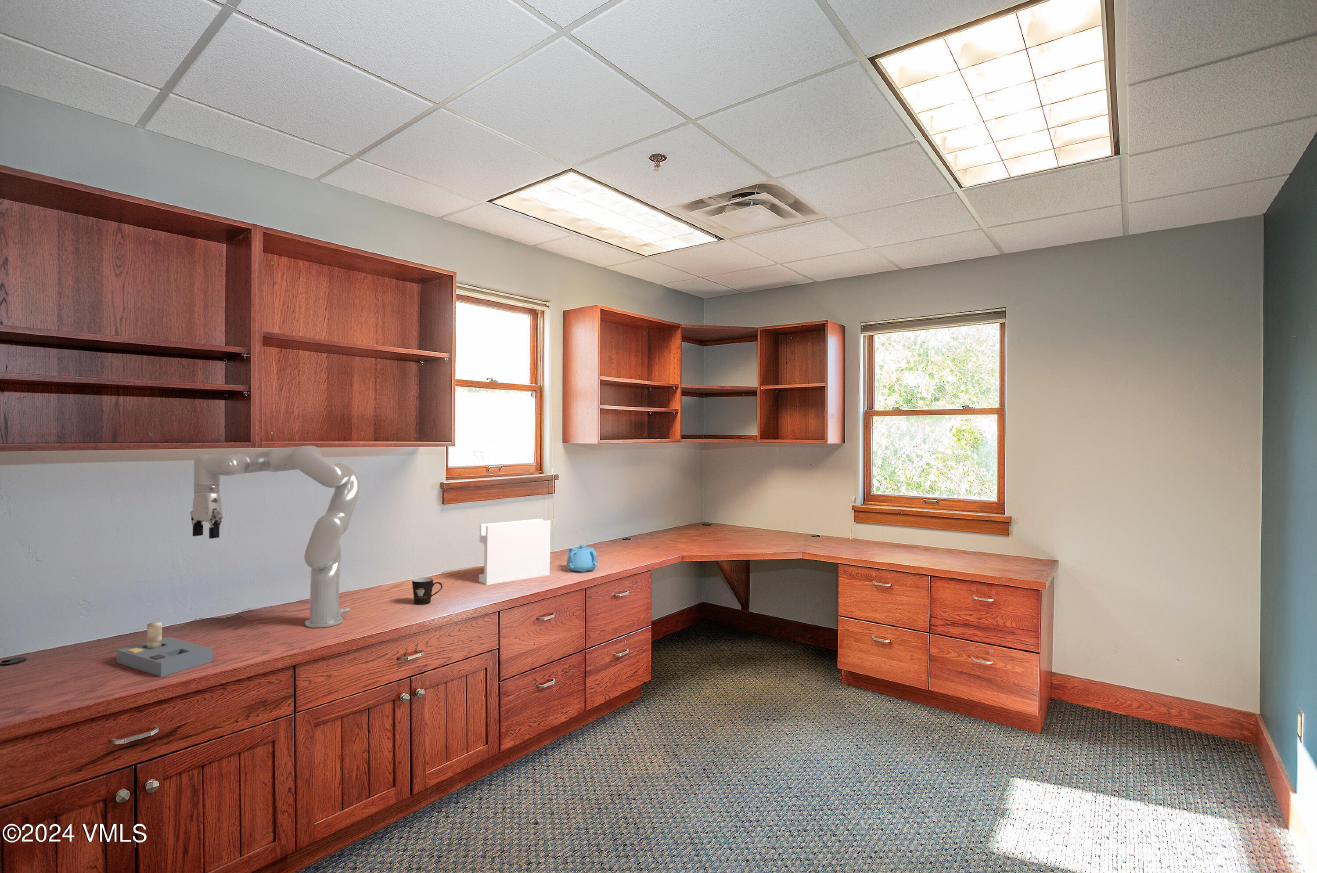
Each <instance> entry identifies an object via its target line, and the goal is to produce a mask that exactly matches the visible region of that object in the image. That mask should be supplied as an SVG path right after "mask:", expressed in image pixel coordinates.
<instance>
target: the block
mask: <svg viewBox="0 0 1317 873" xmlns="http://www.w3.org/2000/svg"><path fill="white" fill-rule="evenodd" d="M551 523H552V521H551V520H550V519H549V520H547V519H546V520H544V518H534V519H533V518H532V519H523V520H522V519H521V520H514V521H499V522H487V523H480V524H479V543H480V544H482V545H483V546H484V553H483V554H484V555H483V556H484V557H483V558H484V559H483V564H484V565H483V567H484V568H483V573H481V574H478V582H479V583H481V584H483V585H485V586H489V585H494V584H500V583H501V584H502V583H507V582H513V581H514V582H515V581H521V580H526V579H533V578H539V577H546V576H550V575H551V532H552V531H551V530H552V529H551V526H552V524H551Z"/></svg>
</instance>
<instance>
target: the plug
mask: <svg viewBox="0 0 1317 873" xmlns="http://www.w3.org/2000/svg"><path fill="white" fill-rule="evenodd" d="M146 636H147V637H146V642H147V649H149V650H150V649H154V648H158V647H162V638H163V622H162V621H154V622H150V623H148V624H147V626H146Z"/></svg>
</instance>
